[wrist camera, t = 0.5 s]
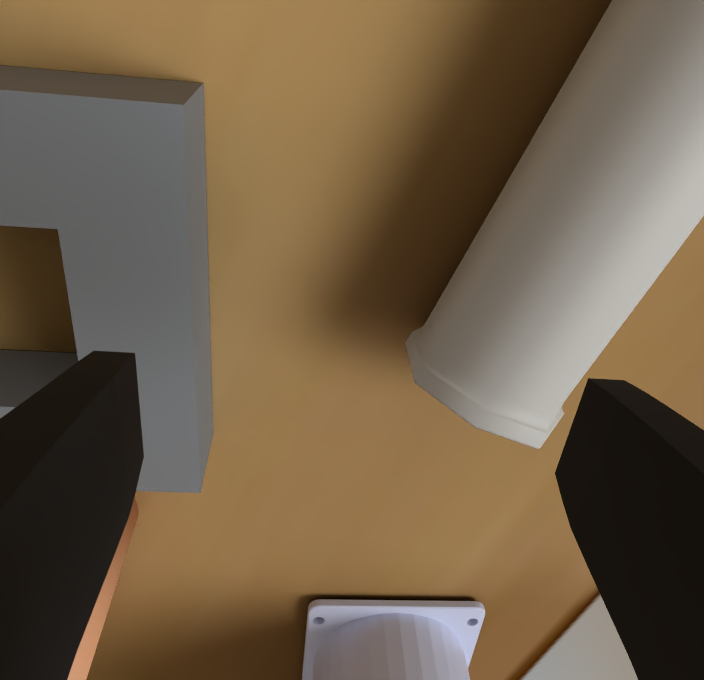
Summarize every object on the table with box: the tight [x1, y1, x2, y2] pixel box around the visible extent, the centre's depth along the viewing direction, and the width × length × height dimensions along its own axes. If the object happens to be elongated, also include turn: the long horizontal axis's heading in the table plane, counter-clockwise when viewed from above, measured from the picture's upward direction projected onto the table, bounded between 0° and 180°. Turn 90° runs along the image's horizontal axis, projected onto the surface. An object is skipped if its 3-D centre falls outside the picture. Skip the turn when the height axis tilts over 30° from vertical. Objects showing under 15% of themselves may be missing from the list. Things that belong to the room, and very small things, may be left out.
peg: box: [67, 499, 138, 680], centre depth 21 cm, size 4×4×9 cm
